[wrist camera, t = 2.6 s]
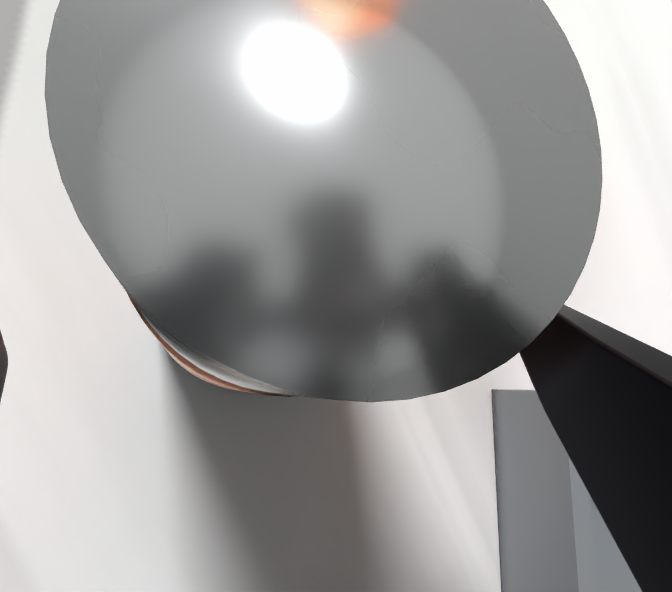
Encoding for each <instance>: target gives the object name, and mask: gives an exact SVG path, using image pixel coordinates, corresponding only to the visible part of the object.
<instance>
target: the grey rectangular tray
mask: <svg viewBox="0 0 672 592" xmlns="http://www.w3.org/2000/svg"><path fill="white" fill-rule="evenodd" d="M492 405H493V425H494V445H495V465H496V486H497V506H498V526H499V546H500V566H501V587H502V592H642V591H641V589H640V587H639V585H638V583H637V582H636V580H635V578H634V576H633V574H632V572H631V571H630V569H629V567H628V565H627V563H626V561H625V559H624V558H623V556H622V554H621V552H620V550H619V548H618V547H617V545H616V543H615V541H614V539H613V537H612V535H611V534H610V532H609V530H608V528H607V526H606V524H605V523H604V521H603V519H602V517H601V515H600V513H599V511H598V510H597V508H596V506H595V504H594V502H593V500H592V499H591V497H590V495H589V493H588V491H587V489H586V487H585V486H584V484H583V482H582V480H581V478H580V476H579V475H578V473H577V471H576V469H575V467H574V465H573V463H572V462H571V460H570V458H569V456H568V454H567V452H566V451H565V449H564V447H563V445H562V443H561V441H560V439H559V438H558V436H557V434H556V432H555V430H554V428H553V427H552V425H551V423H550V421H549V419H548V417H547V415H546V413H545V411H544V409H543V407H542V404H541V402H540V400H539V398H538V395H537V393H536V390H492Z"/></svg>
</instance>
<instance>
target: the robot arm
mask: <svg viewBox="0 0 672 592" xmlns="http://www.w3.org/2000/svg"><path fill="white" fill-rule="evenodd" d="M519 353H520V355H521V357H522V360H523V362H524V364H525V367H526V369H527V372H528V374H529V376H530V379H531V381H532V383H533V386H534V388H535V390H536V393H537V395H538V398H539V400H540V402H541V404H542V407H543V409H544V411H545V413H546V415H547V417H548V419H549V421H550V423H551V425H552V427H553V428H554V430H555V432H556V434H557V436H558V438H559V439H560V441H561V443H562V445H563V447H564V449H565V451H566V452H567V454H568V456H569V458H570V460H571V462H572V463H573V465H574V467H575V469H576V471H577V473H578V475H579V476H580V478H581V480H582V482H583V484H584V486H585V487H586V489H587V491H588V493H589V495H590V497H591V499H592V500H593V502H594V504H595V506H596V508H597V510H598V511H599V513H600V515H601V517H602V519H603V521H604V523H605V524H606V526H607V528H608V530H609V532H610V534H611V535H612V537H613V539H614V541H615V543H616V545H617V547H618V548H619V550H620V552H621V554H622V556H623V558H624V559H625V561H626V563H627V565H628V567H629V569H630V571H631V572H632V574H633V576H634V578H635V580H636V582H637V583H638V585H639V587H640V589H641V591H642V592H672V356H670V355H668V354H666V353H664V352H662V351H660V350H658V349H656V348H653V347H651V346H649V345H647V344H645V343H643V342H641V341H639V340H637V339H635V338H633V337H630V336H628V335H626V334H624V333H622V332H620V331H618V330H616V329H614V328H612V327H610V326H607V325H605V324H603V323H601V322H599V321H597V320H595V319H593V318H591V317H589V316H587V315H584V314H582V313H580V312H578V311H576V310H574V309H572V308H570V307H568V306H566V305H563V306H562V307H561V309H560V310H559V312H558V313H557V314H556V316H555V317H554V319H553V320H552V321H551V322H550V323H549V324H548V325H547V326H546V327H545V328H544V330H543V331H542V332H541V333H540V334H539V335H538V336H537V337H536V338H535V339H534V340H533V341H532V342H531V343H530V344H529V345H527V346H526V347H525V348H524V349H522V350H521V351H520V352H519ZM7 368H8V356H7V351H6V348H5V345H4V341H3V338H2V334H1V331H0V402H1V397H2V392H3V388H4V383H5V378H6V374H7Z"/></svg>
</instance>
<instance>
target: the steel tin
mask: <svg viewBox="0 0 672 592" xmlns="http://www.w3.org/2000/svg"><path fill="white" fill-rule="evenodd" d="M45 100H46V109H47V118H48V126H49V135H50V140H51V143H52V147H53V150H54V154H55V158H56V161H57V165H58V169H59V172H60V176H61V179H62V182H63V184H64V186H65V189H66V191H67V193H68V195H69V198H70V200H71V202H72V204H73V207H74V209H75V211H76V214H77V216H78V218H79V220H80V222H81V224H82V225H83V227H84V229H85V230H86V232H87V233H88V235H89V237H90V238H91V240H92V241H93V243H94V245H95V246H96V248H97V249H98V251H99V253H100V254H101V256H102V258H103V259H104V261H105V262H106V264H107V265H108V266H109V268H110V269H111V271H112V272H113V273H114V275H115V276H116V278H117V279H118V280H119V282H120V283H121V285H122V286H123V287H124V289H125V290H126V292H127V294H128V296H129V298H130V300H131V302H132V304H133V305H134V307H135V308H136V310H137V312H138V313H139V315H140V316H141V318H142V320H143V321H144V323H145V324H146V325H147V326H148V328H149V329H150V330H151V332H152V333H153V334H154V335H155V337H156V338H157V339H158V341H159V342H160V343H161V345H162V346H163V347H164V348H165V350H166V351H167V352H168V353H169V354H170V356H171V357H172V358H173V359H174V360H175V361H176V362H177V363H178V364H180V365H181V366H182V367H183V368H184V369H186V370H187V371H188V372H190V373H191V374H193V375H194V376H196V377H198V378H200V379H202V380H204V381H206V382H208V383H210V384H213V385H216V386H219V387H222V388H227V389H232V390H237V391H243V392H250V393H256V394H262V395H272V396H287V397H291V396H305V397H313V398H322V399H331V400H346V401H361V402H380V401H393V400H406V399H413V398H417V397H421V396H426V395H430V394H435V393H439V392H444V391H447V390H449V389H452V388H455V387H457V386H460V385H462V384H465V383H467V382H470V381H473V380H475V379H478V378H479V377H481V376H483V375H485V374H486V373H488V372H490V371H492V370H493V369H495V368H497V367H499V366H500V365H502V364H504V363H506V362H507V361H508V360H510V359H511V358H512V357H513V356H515V355H516V354H517V353H519V352H520V351H521V350H522V349H524V348H525V347H526V346H527V345H529V344H530V343H531V342H532V341H533V340H534V339H535V338H536V337H537V336H538V335H539V334H540V333H541V332H542V331H543V330H544V328H545V327H546V326H547V325H548V324H549V323H550V322H551V321H552V320H553V319H554V317H555V316H556V314H557V313H558V312H559V310H560V309H561V307H562V306H563V304H564V303H565V301H566V300H567V299H568V297H569V296H570V294H571V292H572V290H573V288H574V286H575V284H576V282H577V280H578V278H579V276H580V274H581V272H582V270H583V268H584V266H585V263H586V260H587V258H588V255H589V252H590V249H591V246H592V243H593V240H594V236H595V231H596V226H597V221H598V216H599V211H600V202H601V189H602V161H601V146H600V139H599V133H598V126H597V120H596V116H595V112H594V108H593V104H592V101H591V97H590V93H589V89H588V87H587V84H586V81H585V79H584V76H583V73H582V71H581V68H580V65H579V63H578V60H577V58H576V56H575V54H574V52H573V50H572V48H571V46H570V44H569V42H568V40H567V38H566V36H565V34H564V32H563V30H562V29H561V27H560V26H559V24H558V22H557V21H556V19H555V17H554V16H553V14H552V13H551V11H550V9H549V8H548V6H547V5H546V4H545V2H544V1H543V0H60V3H59V5H58V8H57V10H56V13H55V16H54V21H53V25H52V30H51V35H50V39H49V44H48V49H47V55H46V78H45Z"/></svg>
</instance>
